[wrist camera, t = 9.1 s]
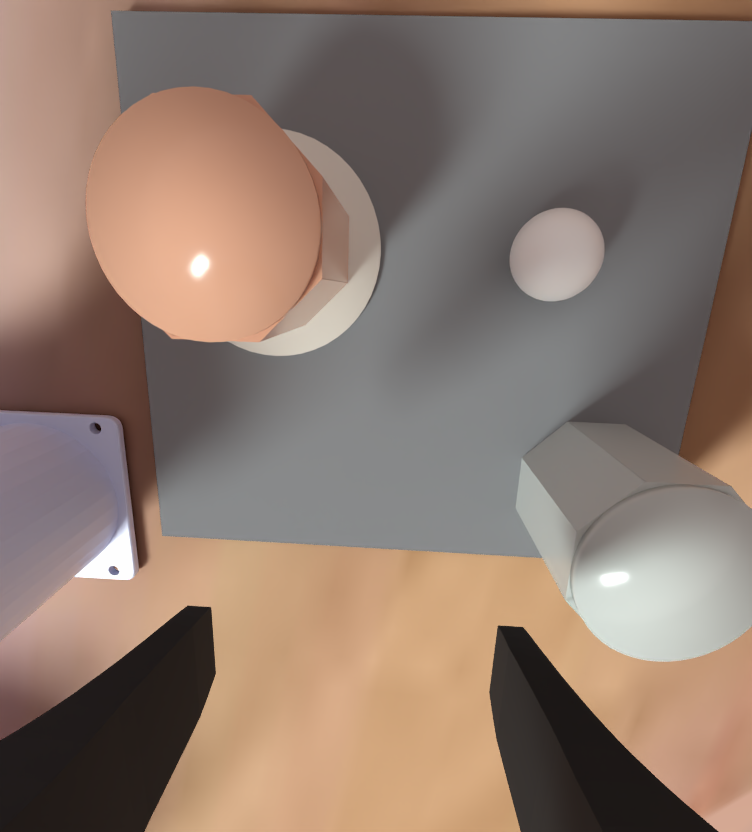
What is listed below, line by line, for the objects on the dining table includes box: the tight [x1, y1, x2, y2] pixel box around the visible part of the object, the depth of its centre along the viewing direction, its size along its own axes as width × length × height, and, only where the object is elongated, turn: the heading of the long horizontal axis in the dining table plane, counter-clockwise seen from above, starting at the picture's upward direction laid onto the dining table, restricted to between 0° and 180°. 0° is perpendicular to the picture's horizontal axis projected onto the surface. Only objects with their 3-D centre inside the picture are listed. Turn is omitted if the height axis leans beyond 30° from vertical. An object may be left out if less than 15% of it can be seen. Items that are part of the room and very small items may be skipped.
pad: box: [228, 129, 381, 356], centre depth 17 cm, size 8×8×1 cm
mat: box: [111, 11, 752, 558], centre depth 18 cm, size 22×20×1 cm
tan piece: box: [85, 86, 349, 342], centre depth 14 cm, size 6×6×6 cm
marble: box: [510, 208, 605, 301], centre depth 16 cm, size 3×3×3 cm
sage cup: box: [516, 422, 752, 662], centre depth 16 cm, size 6×6×6 cm
